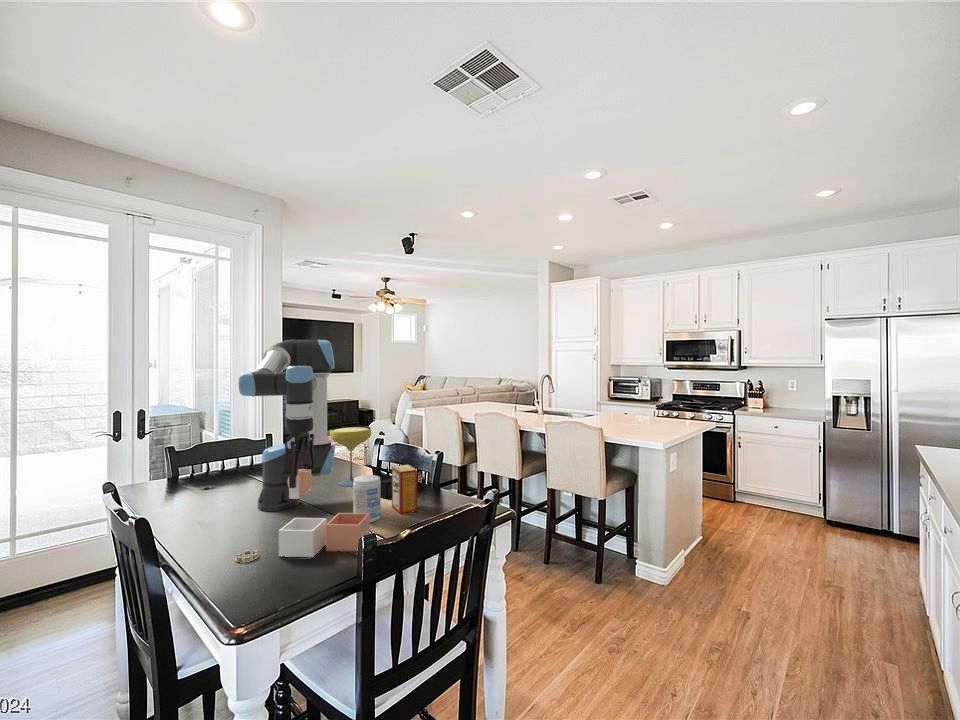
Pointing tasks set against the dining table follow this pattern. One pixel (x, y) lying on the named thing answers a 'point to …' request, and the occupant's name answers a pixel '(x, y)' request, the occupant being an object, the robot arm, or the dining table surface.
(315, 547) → the white open box
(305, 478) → the ball
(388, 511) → the dining table surface
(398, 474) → the baking soda box
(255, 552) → the ball stand
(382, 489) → the digital camera
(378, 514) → the supplement tub
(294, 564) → the dining table surface
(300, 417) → the robot arm
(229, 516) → the dining table surface
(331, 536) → the terracotta open box
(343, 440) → the cocktail glass
